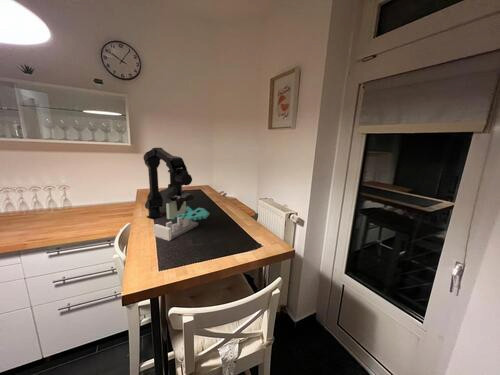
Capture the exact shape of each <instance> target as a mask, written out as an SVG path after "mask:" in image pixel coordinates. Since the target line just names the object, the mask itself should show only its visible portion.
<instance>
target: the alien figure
mask: <svg viewBox="0 0 500 375" xmlns="http://www.w3.org/2000/svg"><path fill="white" fill-rule="evenodd" d="M179 217H183V220H184V219H186V218H188V220H189V221H194V222H196V221H197V220H202V219H205V220H206V219H207V218H208V217H210V212H208V210H207V209H205V207H204V208H203V207H197V208H196V209H194V210H193V208H191V207H190V206H188V205H186V213H183V214H181V215H178V216H176V217H174V218H171V219H170V220H175V219H177V218H179Z"/></svg>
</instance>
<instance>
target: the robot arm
mask: <svg viewBox="0 0 500 375" xmlns="http://www.w3.org/2000/svg"><path fill="white" fill-rule="evenodd" d="M161 160H162V161H164V163H165V165H166V167H167V169H168V171H167V173H169V184H168V185H167V188H165V189H162V190H161V189H159V176H158V174H159V173H158V168H159V167H160V164H161ZM143 161H144V164H145V166H146V168H147V170H148V180H149V181H148V182H149V183H148V184H149V192H148V195H147V196H146V197H147V199H146V202H145V204H144V207H145V209H147V211H148V215H147V216H146V218H148V219H151V220H155V219H159V218H161V217H163V215H162V214H161V210H160V209H161V208H162V207H163V204H164V203H163V202H164V200H163V199H166V200H168V201H169V202H173V201H176V202H177V211H179V210H180V208H181V206H182V204H183V202H184V201H185V202H186V203H187V202H189V201H192V200H194V199H195V197H194V196H195V194H194V195H193V193H189V192H186V193H185V192H184V190H183V186H190V184H192V182H193V177H192V175H191V174H189V171H188V168H187V165H186V164H185V161H184V159H183V158H182V157H181V156H176V155H172V154H171V153H169V152H167V151H166V150H165V149H164V148H163V147H152V149H150V150H149V151H147V152H145V153H144V155H143ZM159 190H160V191H159Z"/></svg>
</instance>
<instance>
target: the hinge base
mask: <svg viewBox="0 0 500 375" xmlns="http://www.w3.org/2000/svg"><path fill="white" fill-rule="evenodd" d="M197 226H199V222H196V221H194V220H192V221H189V220H188V218H186V219H184V217H179V218H176V222H175V223H173V221H168V222H166V223H165V226H164V225H161V224H157V223H156V224H153V234H154V237H156V238H159V239H162V240H165V241H168V242H169V241H171V240H174V239H176V238H178V237H179V236H180V235H182V234H185V233H186V232H188V231H190V230H192V229H194V228H196V227H197Z"/></svg>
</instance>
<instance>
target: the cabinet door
mask: <svg viewBox="0 0 500 375" xmlns="http://www.w3.org/2000/svg"><path fill="white" fill-rule="evenodd" d="M165 205H166V206H165V208H166V210H165V211H166V220H172V219H171V218H174V217H176V216H178V215H181V214H183V213H184V214H186V213H187V211H186V206H187V202H185V201H184V202H183V204H182V206H181V208H180V210H179V211H177V202H176V201H173V202H171V201H169V202H167V203H165Z"/></svg>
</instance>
